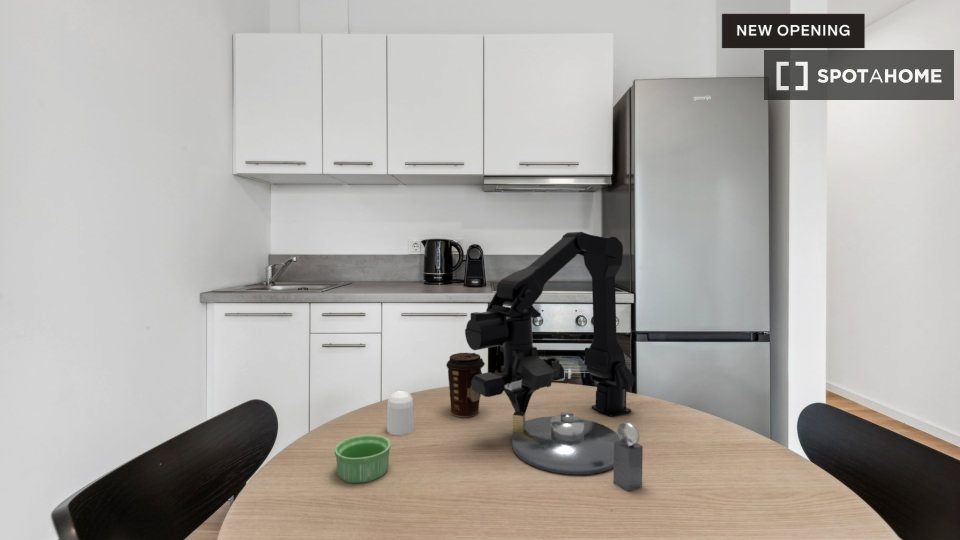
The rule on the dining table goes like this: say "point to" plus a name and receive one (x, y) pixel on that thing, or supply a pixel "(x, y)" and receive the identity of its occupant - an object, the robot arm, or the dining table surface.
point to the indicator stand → (628, 458)
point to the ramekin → (362, 458)
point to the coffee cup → (464, 383)
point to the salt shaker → (400, 413)
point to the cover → (567, 428)
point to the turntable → (563, 447)
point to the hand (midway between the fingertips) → (520, 419)
